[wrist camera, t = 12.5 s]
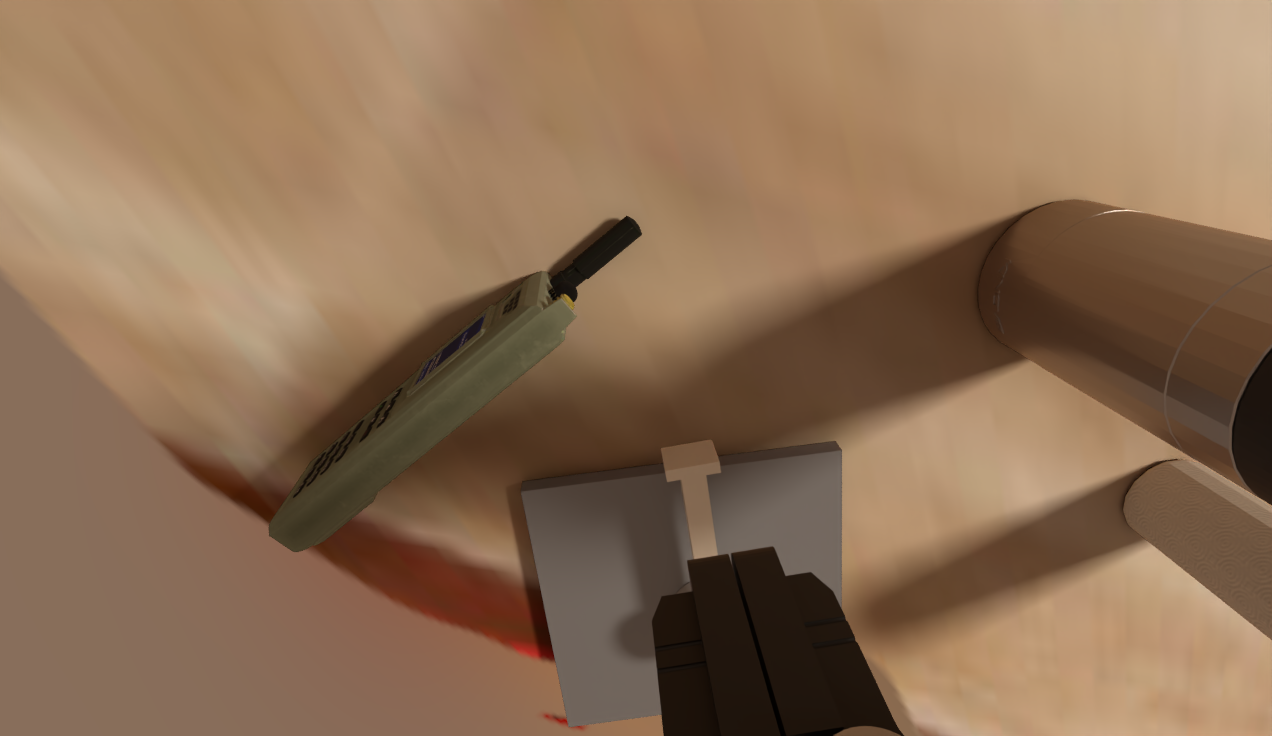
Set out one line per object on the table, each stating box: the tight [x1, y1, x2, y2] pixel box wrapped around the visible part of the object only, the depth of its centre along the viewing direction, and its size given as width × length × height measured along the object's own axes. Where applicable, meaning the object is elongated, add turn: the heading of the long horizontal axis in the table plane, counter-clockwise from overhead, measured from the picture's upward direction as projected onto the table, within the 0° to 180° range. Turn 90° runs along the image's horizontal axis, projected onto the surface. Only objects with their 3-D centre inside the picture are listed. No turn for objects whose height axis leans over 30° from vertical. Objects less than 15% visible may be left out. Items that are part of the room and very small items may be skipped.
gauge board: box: [521, 441, 842, 727], centre depth 46 cm, size 20×20×2 cm
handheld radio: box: [269, 216, 642, 552], centre depth 37 cm, size 7×3×25 cm
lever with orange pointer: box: [661, 439, 721, 559], centre depth 43 cm, size 22×4×4 cm, turn 9°
